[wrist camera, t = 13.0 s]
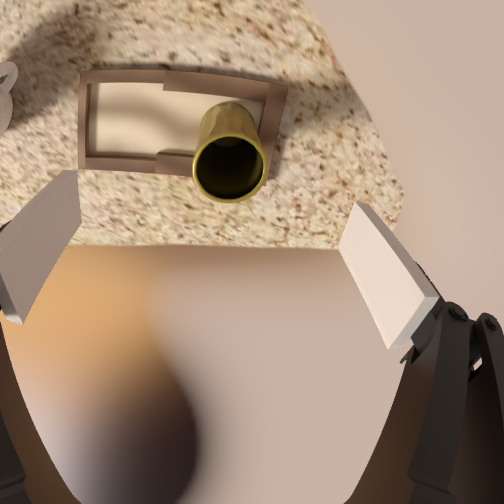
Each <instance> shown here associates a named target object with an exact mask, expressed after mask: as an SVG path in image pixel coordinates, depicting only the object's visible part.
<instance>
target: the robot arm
mask: <svg viewBox="0 0 504 504" xmlns="http://www.w3.org/2000/svg"><path fill="white" fill-rule="evenodd" d="M81 223H82V220H81V212H80V203H79V192H78V180H77V171H74V170H63V171H62V172H61V173H60V174H58V175H57V176H56V177H55V178H54V179H53V180H52V181H51V182H49V183H48V184H47V185H46V186H45V187H44V188H43V189H42V190H41V191H40V192H39V193H38V194H37V195H36V196H35V197H34V198H33V199H32V200H31V201H30V202H29V203H28V204H27V205H26V206H25V207H24V208H23V209H22V210H21V211H20V212H19V213H18V214H17V215H16V216H15V217H14V218H13V219H12V220H10V221H9V222H7V223H6V224H4V225H3V226H2V227H1V228H0V310H1V309H2V311H3V312H4V314H5V317H6V319H7V320H8V321H12V322H15V323H19V324H23V323H24V321H25V319H26V317H27V315H28V313H29V311H30V309H31V307H32V305H33V303H34V301H35V299H36V297H37V295H38V293H39V292H40V290H41V288H42V286H43V284H44V282H45V280H46V279H47V277H48V275H49V274H50V272H51V270H52V268H53V267H54V265H55V264H56V262H57V260H58V258H59V257H60V255H61V254H62V252H63V250H64V249H65V247H66V246H67V244H68V243H69V241H70V240H71V238H72V236H73V235H74V233H75V232H76V230H77V229H78V227H79V226H80V225H81ZM337 248H338V250H339V251H340V253H341V255H342V257H343V259H344V261H345V263H346V265H347V266H348V268H349V270H350V272H351V274H352V276H353V278H354V280H355V282H356V284H357V286H358V288H359V290H360V292H361V294H362V296H363V298H364V300H365V302H366V304H367V306H368V308H369V310H370V312H371V314H372V316H373V318H374V321H375V323H376V325H377V327H378V329H379V331H380V334H381V335H382V338H383V340H384V342H385V344H386V347H387V349H399V348H403V347H404V346H405V344H406V343H407V342H408V340H409V339H410V338H411V339H412V341H413V343H414V345H413V346H412V348H411V349H410V350H409V351H408V352H407V353H406V355H405V356H404V357H403V358H402V359H401V361H400V363H401V364H402V363H403V362H404V361H405V360H407V361H406V364H405V368H404V371H403V374H402V377H401V381H400V384H399V387H398V390H397V393H396V396H395V399H394V401H393V404H392V407H391V410H390V412H389V415H388V418H387V420H386V423H385V425H384V428H383V430H382V433H381V435H380V438H379V440H378V442H377V445H376V447H375V449H374V452H373V454H372V456H371V458H370V460H369V462H368V464H367V467H366V468H365V471H364V473H363V475H362V477H361V479H360V480H359V482H358V484H357V486H356V488H355V490H354V492H353V494H352V495H351V497H350V498H349V499H348V500H347V501H346V502H345V503H344V504H504V334H503V331H502V328H501V326H500V324H499V323H498V321H497V319H496V318H495V317H494V316H492V315H490V314H488V313H482V314H481V315H480V316H479V318H478V319H477V321H474V320H471V319H469V317H468V315H467V314H466V312H465V311H464V310H463V309H462V308H461V307H460V306H459V305H457V304H455V303H453V302H445V301H444V299H443V298H442V296H441V295H440V293H439V292H438V290H437V289H436V288H435V286H434V285H433V283H432V282H430V279H429V278H428V276H427V275H425V272H424V271H423V269H422V268H421V267H420V266H419V265H418V264H417V263H416V262H415V261H414V260H413V259H412V258H411V256H410V255H409V253H407V251H406V250H405V248H404V247H403V246H402V245H401V243H400V242H399V241H398V239H397V238H396V237H395V236H394V235H393V233H392V232H391V231H390V229H389V228H388V227H387V226H386V225H385V223H384V222H383V221H382V220H381V219H380V217H379V216H378V215H377V214H376V213H375V211H374V210H373V209H372V208H371V207H370V206H369V204H366V203H361V202H356V201H355V203H354V205H353V208H352V211H351V214H350V216H349V219H348V222H347V224H346V227H345V229H344V232H343V235H342V237H341V240H340V242H339V245H338V247H337ZM480 358H482V364H481V365H480V366H479V367H478V368H477V369H476V370H475V371H474V367H473V365H474V364H475V363H476V362H477V361H478V360H479V359H480ZM0 504H81V503H80V502H79V501H78V500H77V499H76V498H75V497H74V496H73V495H72V493H71V492H70V490H69V489H68V487H67V486H66V484H65V482H64V481H63V479H62V477H61V476H60V474H59V472H58V471H57V469H56V467H55V465H54V463H53V462H52V460H51V458H50V456H49V454H48V452H47V450H46V448H45V446H44V445H43V442H42V441H41V438H40V436H39V434H38V432H37V430H36V428H35V426H34V423H33V421H32V419H31V416H30V414H29V412H28V409H27V407H26V404H25V402H24V399H23V397H22V394H21V391H20V388H19V385H18V383H17V380H16V377H15V374H14V371H13V367H12V364H11V361H10V357H9V354H8V350H7V346H6V343H5V339H4V335H3V330H2V326H1V323H0Z"/></svg>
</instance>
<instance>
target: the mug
mask: <svg viewBox="0 0 504 504" xmlns="http://www.w3.org/2000/svg"><path fill="white" fill-rule="evenodd" d="M6 74H8V76H7V78H6V79H5V81H4V82H3V83H2V84H1V83H0V138H1V137H2V135H3V134H4V132H5V131H6V129H7V127H8V125H9V123H10V120H11V117H12V112H13V102H12V97H11V94H10V93H9V91H10V89H11V88H12V86H13V85H14V83H15V81H16V79H17V77H18V68H17V66H16V64H15V63H13V62H10V61H7V62H2V63H0V77H2V76H4V75H6Z"/></svg>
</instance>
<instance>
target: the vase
mask: <svg viewBox="0 0 504 504" xmlns="http://www.w3.org/2000/svg"><path fill="white" fill-rule="evenodd" d="M192 172H193V179H194V181H195V183H196V185H197V186H198V188H199V190H200V191H201V192H202V193H203V194H204V195H205V196H206V197H208V198H210V199H212V200H214V201H217V202H221V203H237V202H241V201H244V200H246V199H248V198H250V197H252V196H253V195H254V194H256V193H257V192H258V191H259V190H260V188H261V187H262V185H263V184H264V182H265V180H266V177H267V173H268V159H267V156H266V154H265V152H264V149H263V147H262V145H261V142H260V140H259V137H258V134H257V131H256V128H255V122H254V119H253V117H252V115H251V113H250V112H249V111H248V110H247V109H246V108H245V107H243V106H242V105H239V104H237V103H233V102H224V103H219V104H217V105H214V106H213V107H211V108H210V109H209V110H208V111H207V112H206V113H205V114H204V116H203V118H202V121H201V124H200V134H199V138H198V144H197V147H196V150H195V154H194V158H193V163H192Z"/></svg>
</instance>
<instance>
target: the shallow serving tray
mask: <svg viewBox="0 0 504 504" xmlns="http://www.w3.org/2000/svg"><path fill="white" fill-rule="evenodd" d="M287 90H288V87H287V86H283V85H278V84H273V83H268V82H263V81H258V80H252V79H246V78H239V77H233V76H225V75H218V74H209V73H199V72H188V71H174V70H151V69H114V70H92V71H81V74H80V86H79V102H78V169H90V170H111V171H128V172H142V173H155V174H167V175H177V176H188V177H193V172H192V163H193V158H194V154H195V150H196V147H197V144H198V138H199V134H200V124H201V121H202V118H203V116H204V114H205V113H206V112H207V111H208V110H209V109H210V108H211V107H213V106H214V105H217V104H219V103H224V102H233V103H237V104H239V105H242V106H243V107H245V108H246V109H247V110H248V111H249V112H250V113H251V115H252V117H253V119H254V122H255V128H256V131H257V134H258V137H259V140H260V142H261V145H262V147H263V149H264V152H265V154H266V156H267V159H268V173H267V177H266V180H265V182H264V184H263V185H262V186H266V183H267V178H268V174H269V170H270V165H271V161H272V156H273V152H274V147H275V143H276V139H277V134H278V130H279V125H280V121H281V116H282V112H283V108H284V103H285V99H286V94H287Z"/></svg>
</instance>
